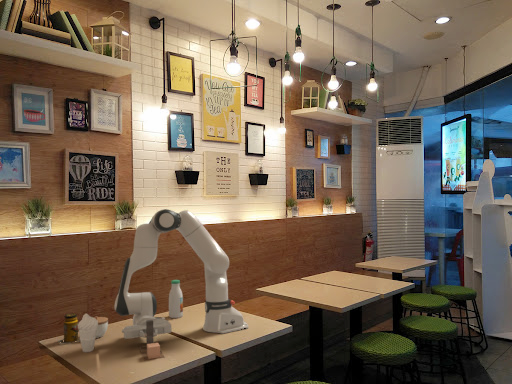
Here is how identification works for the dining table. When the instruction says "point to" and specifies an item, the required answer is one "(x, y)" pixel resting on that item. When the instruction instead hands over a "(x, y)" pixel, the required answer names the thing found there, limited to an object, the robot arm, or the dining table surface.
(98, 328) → the lidded jar
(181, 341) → the dining table surface
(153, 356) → the terracotta block
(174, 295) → the milk bottle
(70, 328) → the condiment
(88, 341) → the soft serve ice cream cone
